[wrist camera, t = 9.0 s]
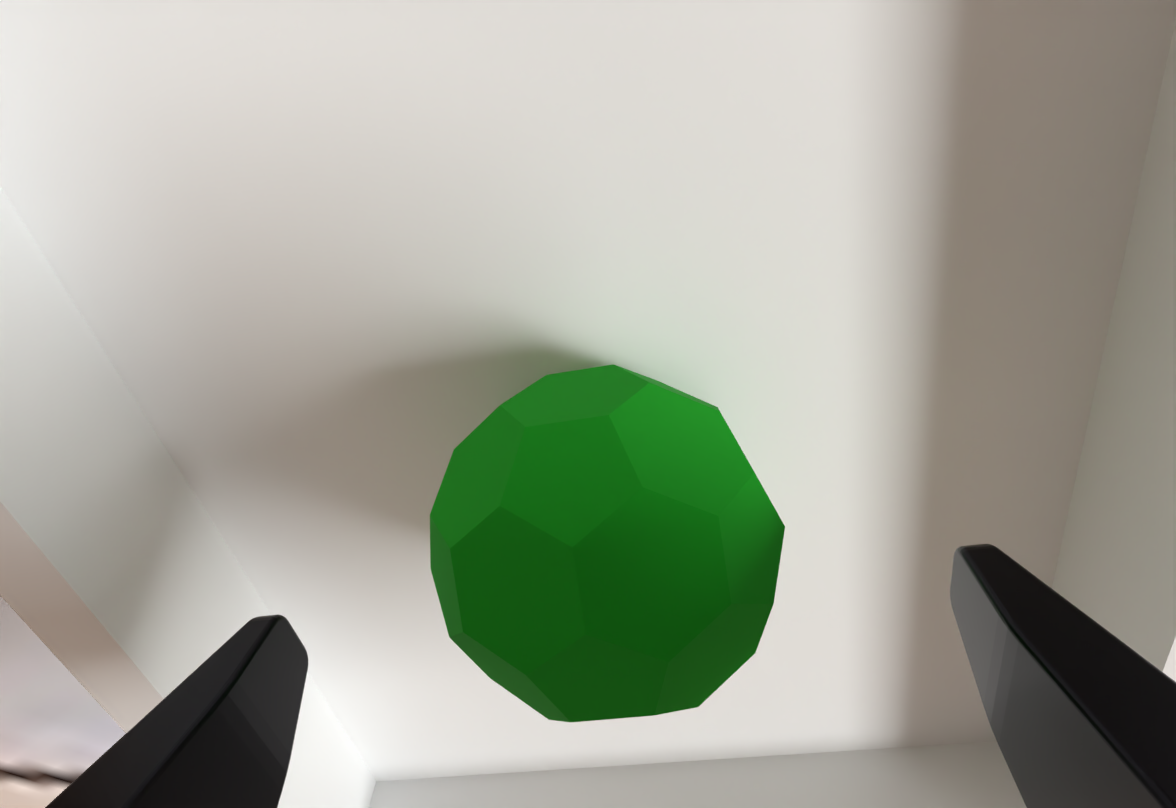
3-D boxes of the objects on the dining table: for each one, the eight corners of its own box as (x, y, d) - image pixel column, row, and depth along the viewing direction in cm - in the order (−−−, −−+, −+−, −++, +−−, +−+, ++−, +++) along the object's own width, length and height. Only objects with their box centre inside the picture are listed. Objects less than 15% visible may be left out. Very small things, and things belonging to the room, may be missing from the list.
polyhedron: (743, 287, 11) (808, 503, 7) (767, 527, 14) (823, 780, 10) (424, 340, 12) (324, 561, 8) (506, 558, 15) (461, 805, 11)
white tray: (1418, -760, 6) (2247, -1446, 3) (1046, 726, 18) (1137, 908, 15) (-289, -234, 9) (-821, -308, 6) (360, 772, 21) (310, 936, 18)
